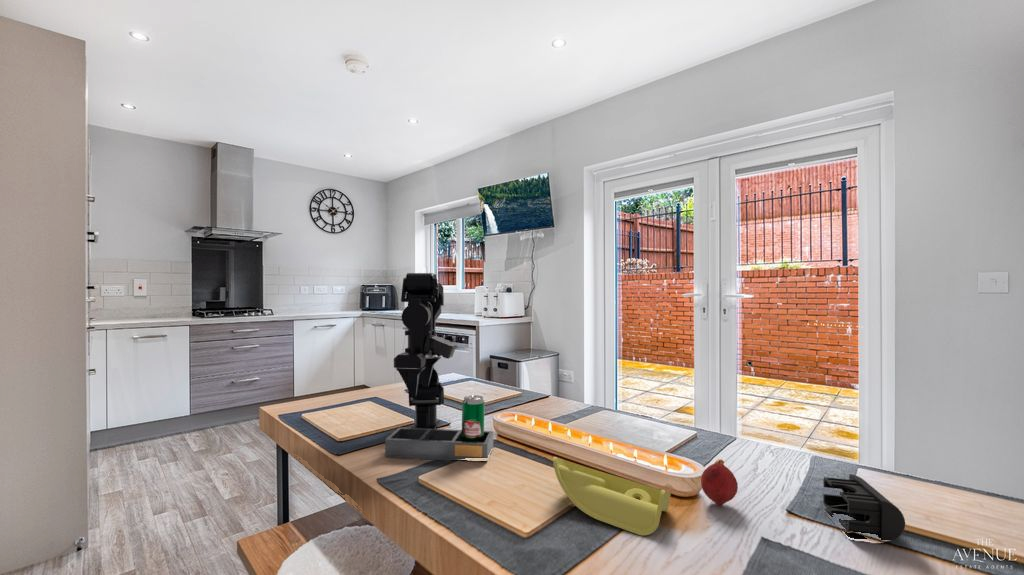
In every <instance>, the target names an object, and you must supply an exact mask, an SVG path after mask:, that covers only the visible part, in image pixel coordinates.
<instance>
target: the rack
mask: <svg viewBox="0 0 1024 575" xmlns="http://www.w3.org/2000/svg"><path fill="white" fill-rule="evenodd" d="M461 439H462V429H443V428H440V429H439V428H436V429H423V428H411V427H398V428H397V429H395V430H394V431H393V432H392V433H391V434H390V435H388V436H387V437H386V438H385V441H384V444H385V447H384V450H385V451H384V453H385V454H384V455H385V456H384V457H385V458H392V459H393V458H394V459H395V458H396V459H413V460H414V459H415V460H432V461H433V460H434V461H451V460H457V459H465V458H488V455H489V453H490V451H491V449H492V447H493V448H494V431H493V430H484V442H463V441H461Z"/></svg>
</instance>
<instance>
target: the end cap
mask: <svg viewBox="0 0 1024 575" xmlns="http://www.w3.org/2000/svg"><path fill="white" fill-rule="evenodd" d="M848 476H849V477H848V478H849V479H846V478H839V477H838V478H836V477H826V476H825V477H823V488H829V489H838V490H842V491H839V495H837V494H830V493H829V494H828V493H823V494H822V496H823V497H822V498H823V499H822V500H823V505H824V507H825V508H824V510H825V511H826V512H827V513H828V514H829V515H830V516H831V517H833V516H832V515H834V514H833V513H836V514H844V515H848V516H850V517H853V518H854V519H856V520H841V519H839V522H840V523H841V525H842V526H843V527H844V528H845V529H846V530H847V531H853V532H861V533H870V534H876V535H878V537H879V538H881V540H892V541H895V540H896V539H898V538H900V537H901V536H902V534H903V533H904V532H905V528H906V520H905V517H904V514H903V513H902V511H901V510H900V509H899V508H898V507H897V505H895V504H894V503H893V502H891V501H890V500H889V499H887V497H885V496H884V495H883V494H882V493H880V492H879V491H878V490H877V489H875V488H874V487H873V486H872V485H871V484H870V483H868V482H867V481H866V480H865V479H863V478H862V477H861V476H858V475H856V474H851V473H849V475H848ZM844 532H845V531H844ZM845 534H846V535H847V536H848V537H850V538H854V539H867V538H865V537H864V536H862V535H859V534H856V533H847V532H845Z"/></svg>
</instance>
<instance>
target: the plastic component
mask: <svg viewBox="0 0 1024 575" xmlns="http://www.w3.org/2000/svg"><path fill="white" fill-rule="evenodd" d="M552 463H553V469H554V474H555V475H556V478H557V481H558V483H559V485H560V487H561V489H562V491H563V492H564V494H565V495H566V496H567V497H568V499H569V500H570V502H571V503H573V504H574V506H576V508H578V509H579V510H580V511H582V513H584V514H586V515H588V516H589V517H591V518H594V519H595V520H598V521H600V522H602V523H606V524H609V525H611V526H614V527H616V528H619V529H622V530H624V531H628V532H631V533H633V534H636V535H638V536H649V535H652V534H653V533H655V531H656V530H658V527H659V525H660V521H661V516H662V512H667V511H668V510H669V506H670V501H671V500H670V499H671V494H672V492H670V491H668V490H664V489H659V488H656V487H652V486H649V485H646V484H643V483H640V482H636V481H634V480H630V479H626V478H623V477H620V476H616V475H614V474H610V473H607V472H603V471H600V470H599V469H598V470H597V469H594V468H591V467H588V466H585V465H581V464H578V463H575V462H571V461H569V460H566V459H563V458H560V457H559V456H558V457H557V456H553V458H552Z"/></svg>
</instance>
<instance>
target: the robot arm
mask: <svg viewBox="0 0 1024 575" xmlns="http://www.w3.org/2000/svg"><path fill="white" fill-rule="evenodd" d="M400 303H407V306H406V307H405V308H404V309H403V311H402V314H401V321H402V324H403V325H404V327H405V328H407V330H405V331H404V336H407V347H405V348H404V352H401V353H398V354H397V355H396V356H395V357H394V358H393V368H394V369H396V371H397V373H399V375H400V377H401V379H402V380H403V383H404V384H405V386H406V389H407V392H408V405H409V406H408V407H412V406H414V424H412V425H411V426H410V428H423V429H437V428H438V427H439V425H440V424H441V421H440V420H437V417H438V416H437V413H438V412H437V406H442V405H443V404H445V390H444V388H445V387H443V385H442V382H440V377H439V374H438V372H437V370H436V369H435V364H436V363H437V362H439V361H440V360H441V358H442V357H443V358H444V359H450V358H452V357H453V356H454V354H455V350H456V349H457V345H458V344H457V342H456V340H455V336H454V335H451V334H448V335H446V336H445V337H442V336H441V337H440V336H437V331H436V321H437V319H438V318H439V317H440V316H441V314H442V306H443V307H444V304H445V294H444V286H443V285H442V284H441V283H440V282H439V281H438V278H437V274H436V273H434V272H433V273H432V272H407V273H406V275H405V277H403V279H402V287H401V296H400ZM439 423H440V424H439ZM438 424H439V425H438ZM436 427H437V428H436Z"/></svg>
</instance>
